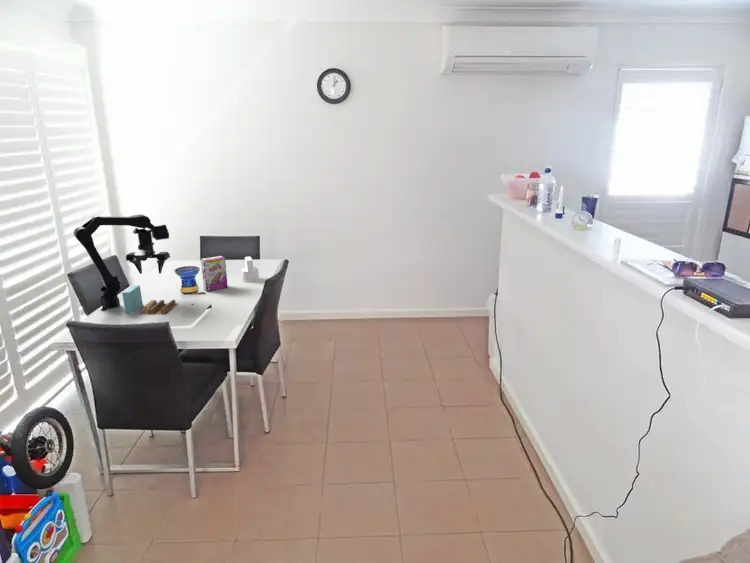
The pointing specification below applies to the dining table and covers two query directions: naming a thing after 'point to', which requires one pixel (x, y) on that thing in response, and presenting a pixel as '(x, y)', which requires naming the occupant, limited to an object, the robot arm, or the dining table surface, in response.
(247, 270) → the base with upright slab
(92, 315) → the dining table surface
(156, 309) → the walnut rack
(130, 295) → the teal panel
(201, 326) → the dining table surface
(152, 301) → the oak offcut slats
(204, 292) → the wooden tablet
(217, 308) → the dining table surface
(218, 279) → the candy bar box
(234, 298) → the dining table surface
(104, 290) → the robot arm
